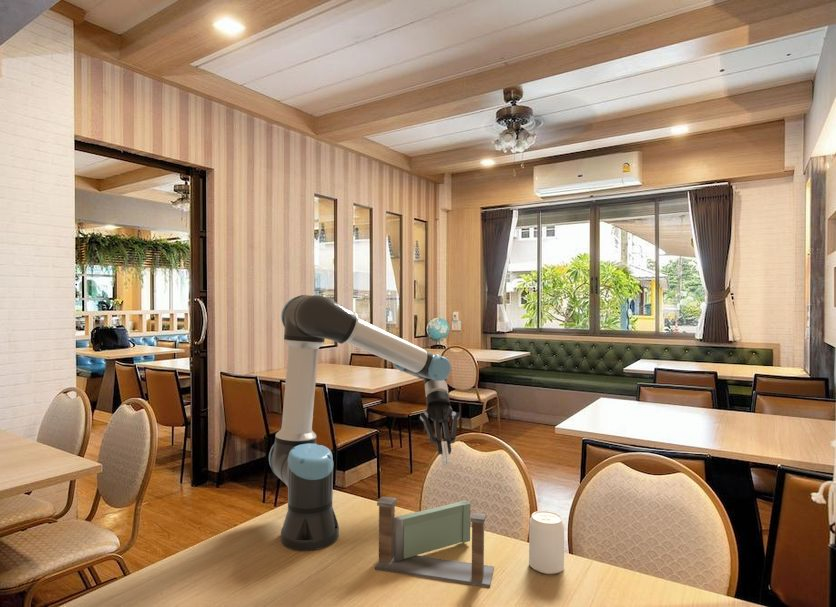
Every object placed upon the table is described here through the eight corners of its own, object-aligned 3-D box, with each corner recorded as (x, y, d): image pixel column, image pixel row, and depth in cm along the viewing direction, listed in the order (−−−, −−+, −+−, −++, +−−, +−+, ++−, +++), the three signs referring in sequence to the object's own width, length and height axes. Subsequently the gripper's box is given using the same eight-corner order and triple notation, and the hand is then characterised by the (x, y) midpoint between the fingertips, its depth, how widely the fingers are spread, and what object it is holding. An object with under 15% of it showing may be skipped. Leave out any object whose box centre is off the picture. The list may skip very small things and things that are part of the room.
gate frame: (383, 552, 126) (384, 494, 126) (493, 568, 119) (494, 506, 119) (372, 569, 118) (373, 506, 118) (490, 587, 111) (490, 520, 111)
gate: (392, 557, 121) (392, 517, 121) (464, 537, 132) (465, 500, 132) (397, 562, 119) (397, 521, 119) (470, 540, 130) (470, 503, 130)
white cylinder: (565, 578, 115) (565, 526, 115) (529, 573, 117) (529, 522, 116) (562, 560, 123) (563, 511, 123) (528, 556, 125) (529, 508, 124)
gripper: (455, 402, 167) (466, 468, 151) (416, 402, 165) (422, 470, 149) (458, 389, 162) (470, 456, 145) (418, 389, 160) (425, 458, 144)
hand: (446, 463), depth 147 cm, fingers closed
